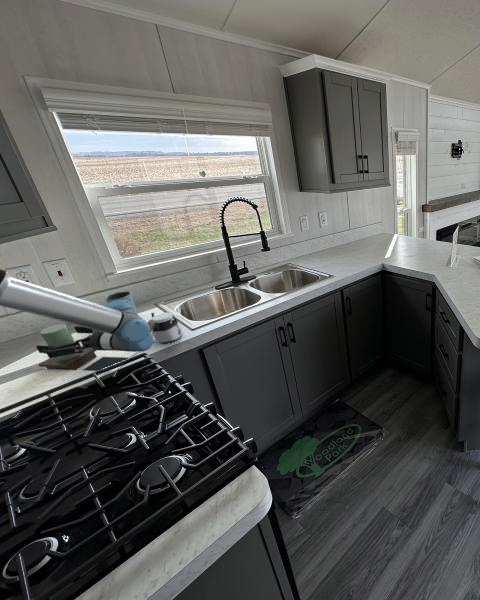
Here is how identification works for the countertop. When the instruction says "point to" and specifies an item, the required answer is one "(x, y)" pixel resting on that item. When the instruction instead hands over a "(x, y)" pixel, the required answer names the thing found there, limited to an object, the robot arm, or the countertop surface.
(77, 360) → the stand
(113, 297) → the blue plant pot
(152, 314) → the garlic bulb
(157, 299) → the countertop surface
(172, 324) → the spread jar
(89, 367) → the mat
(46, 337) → the sage green cylinder
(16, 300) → the robot arm
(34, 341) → the countertop surface
